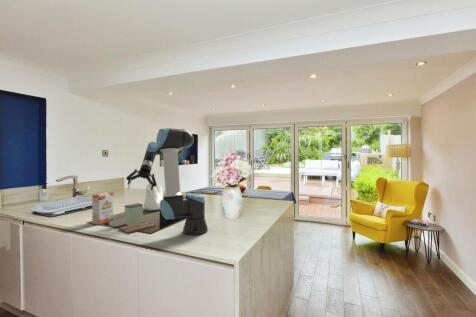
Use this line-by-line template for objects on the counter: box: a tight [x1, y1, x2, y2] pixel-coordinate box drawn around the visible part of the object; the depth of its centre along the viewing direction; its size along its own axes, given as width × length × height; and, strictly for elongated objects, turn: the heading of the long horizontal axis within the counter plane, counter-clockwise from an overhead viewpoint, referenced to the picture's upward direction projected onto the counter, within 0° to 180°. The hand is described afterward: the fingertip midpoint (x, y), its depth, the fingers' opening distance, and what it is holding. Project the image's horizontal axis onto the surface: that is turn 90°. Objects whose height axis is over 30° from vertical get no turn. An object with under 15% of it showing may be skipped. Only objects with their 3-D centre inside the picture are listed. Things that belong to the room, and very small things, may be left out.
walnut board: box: [118, 221, 156, 235], centre depth 158 cm, size 13×18×1 cm
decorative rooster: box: [143, 182, 164, 211], centre depth 211 cm, size 25×16×25 cm, turn 159°
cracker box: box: [91, 191, 114, 226], centre depth 172 cm, size 14×6×21 cm, turn 168°
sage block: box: [124, 202, 144, 226], centre depth 170 cm, size 6×10×13 cm, turn 142°
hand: (138, 190), depth 164 cm, fingers open, 13 cm apart
